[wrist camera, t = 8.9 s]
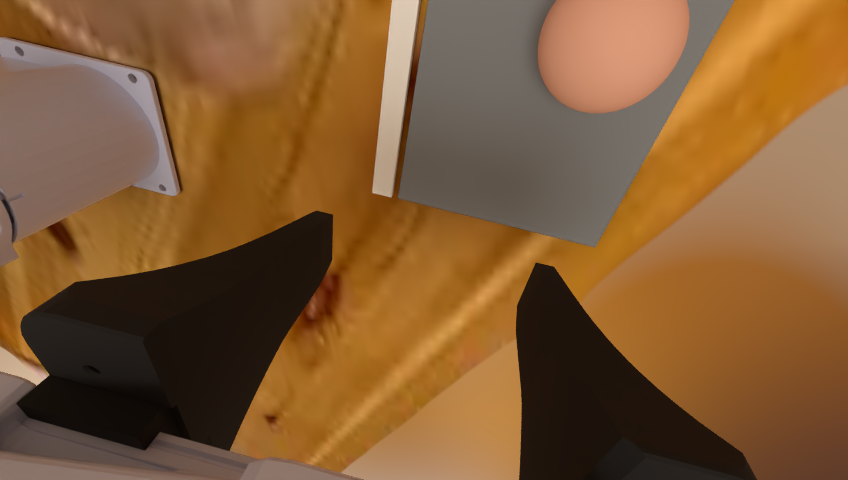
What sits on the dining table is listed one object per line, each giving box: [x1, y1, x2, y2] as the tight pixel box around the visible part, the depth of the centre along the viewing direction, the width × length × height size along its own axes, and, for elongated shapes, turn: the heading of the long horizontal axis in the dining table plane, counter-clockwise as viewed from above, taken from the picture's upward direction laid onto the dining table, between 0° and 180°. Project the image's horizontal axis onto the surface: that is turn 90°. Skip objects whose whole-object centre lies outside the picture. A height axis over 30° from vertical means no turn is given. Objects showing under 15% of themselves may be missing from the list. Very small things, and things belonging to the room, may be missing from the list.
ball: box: [538, 0, 690, 113], centre depth 14 cm, size 5×5×5 cm
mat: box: [372, 0, 734, 247], centre depth 16 cm, size 14×20×1 cm
